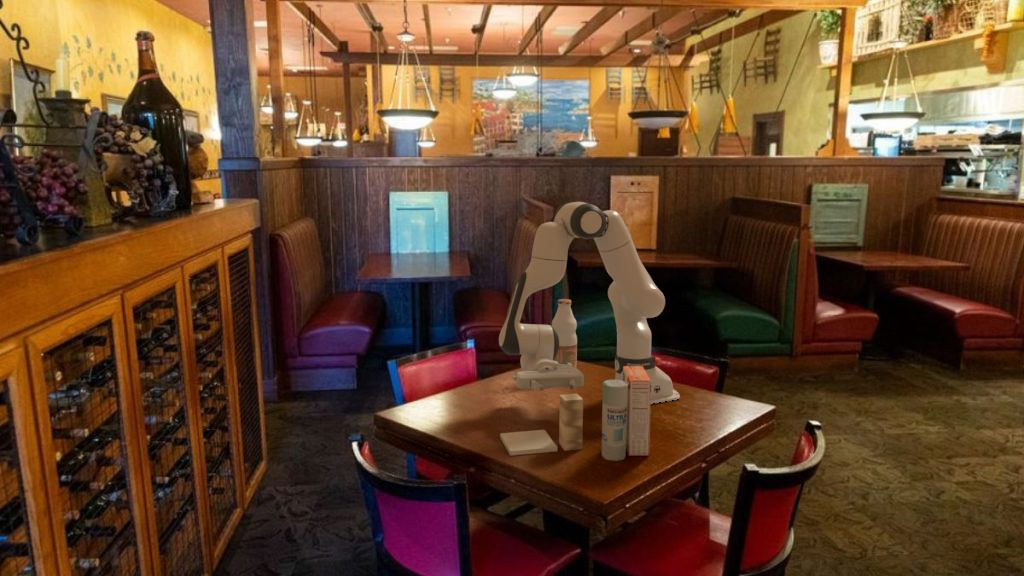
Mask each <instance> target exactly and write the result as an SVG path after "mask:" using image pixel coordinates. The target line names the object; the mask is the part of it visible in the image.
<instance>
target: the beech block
mask: <svg viewBox="0 0 1024 576" xmlns="http://www.w3.org/2000/svg"><path fill="white" fill-rule="evenodd" d="M583 416H584V399H583V398H582V397H581V396H580V395H579V393H568V394H559V424H558V426H559V427H558V429H559V430H558V432H559V433H558V443H559V446H560V447H561V448H562V449H563V451H565V452H566V451H574V450H575V451H576V450H577V451H578V450H583V433H584V432H583V431H584V430H583V425H584V424H583V422H584V421H583V420H584V417H583Z"/></svg>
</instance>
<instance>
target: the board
mask: <svg viewBox="0 0 1024 576" xmlns="http://www.w3.org/2000/svg"><path fill="white" fill-rule="evenodd" d="M499 438H500V441H501V442H502V444H503V445H504V447H505V449H506V450H507V451H506V452H508V454H509V456H520V455H529V454H542V453H551V452H558V445H557V444H556V443H555V441H553V439H552V438H551V437H550V435H549V434H548V432H547V431H546V430H545V429H538V430H535V429H534V430H527V431H526V430H525V431H512V432H502V433H499Z"/></svg>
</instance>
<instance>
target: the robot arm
mask: <svg viewBox="0 0 1024 576" xmlns="http://www.w3.org/2000/svg"><path fill="white" fill-rule="evenodd" d="M576 238H577V239H582V240H590V239H593V240H594V242H595V245H596V247H597V250H598V252H599V254H600V257H601V259H602V263H603V265H604V268H605V270H606V272H607V273H608V275H609V276H610V277H611V279H612V280H613V281H612V283H611V284H610V285H609V287H608V289H607V296H608V299H609V301H610V305H611V306H612V310H613V316H614V320H615V324H616V325H615V326H616V333H617V334H616V339H617V340H616V354H615V359H614V370H615V377H614V380H622V381H623V366H643V368H644V370H645V372H646V373H647V375H648V377H649V379H650V381H651V403H650V405H654V404H653V403H655V404H660V403H659V402H661V403H666V402H665V401H667V402H673V401H672V400H674V401H678V400H677V399H679V398H680V399H681V395H680V393H679V392H678V391H677V390H676V389H674V385H673V382H672V381H673V380H672V379H671V377H670V376H669V375H668V374H666V373H665V372H664V371H663V370H662V369H660V368H659V367H657V366H656V365H658V366H659V365H661V364H662V359H661V358H660V357H655V356H654V355H652V331H651V329H650V327H649V324H648V321H647V319H652V318H655V317H658V316H659V315H661V313H662V312H663V310H664V308H665V306H666V298H665V296H664V293H663V292H662V291H661V290H660V289H659V287H658V286H657V285H656V284H655V282H654V281H653V279H652V277H651V275H650V274H649V272H648V271H647V269H646V268H645V266H644V264H643V263H642V261H641V259H640V256H639V254H638V252H637V251H638V250H637V249H636V245H635V243H634V242H633V238H632V236H631V234H630V231H629V229H628V226H627V225H626V223H625V222H624V220H623V218H622V216H621V215H620V214H619V213H618V212H617V211H615V210H612V209H609V210H608V209H607V210H603V211H602V210H601V209H600V208H599V207H598V206H596V205H594V204H592V203H588V202H583V201H567V202H565V203H562V204H561V205H560V206H558V208H557V209H556V211H555V212H554V215H553V216H552V218H551V219H550V221H548V222H544V223H541V225H539V226H538V227H537V230H536V233H535V236H534V241H533V245H532V251H531V258H530V262H529V265H528V266H527V268H526V270H525V271H523V272H521V273H520V274H519V275H518V277H517V279H516V282H515V285H514V288H513V291H512V295H511V298H510V301H509V305H508V308H507V312H506V316H505V319H504V322H503V325H502V327H501V330H500V333H499V336H498V344H499V348H500V349H501V351H503V352H504V353H505V354H506V355H508V356H519V355H521V356H520V360H519V361H520V367H521V371H517V372H516V373H515V374H512V376H511V379H513V381H515V385H516V388H517V389H519V390H537V392H543V391H544V390H547V389H560V388H567V389H568V390H575V389H576V388H582V387H583V386H584V383H585V375H584V373H583V372H582V371H581V370H580V369H578V368H574V367H572V364H571V363H566V362H557V361H554V359H555V358H556V356H557V354H558V350H559V337H558V334H557V332H556V331H555V329H554V328H553V327H552V324H539V323H536V324H535V323H533V324H532V323H531V324H530V323H521V319H522V315H523V311H524V308H525V305H526V302H527V300H528V297H530V296H531V295H532V294H534V293H536V292H539V291H540V290H541V291H542V290H545V289H547V288H551V287H553V286H555V285H557V284H558V283H559V282H560V281H561V280H562V279H563V278H564V276H565V274H566V269H567V264H568V263H567V262H568V251H569V247H570V245H571V243H572V241H574V239H576ZM680 399H679V400H680Z"/></svg>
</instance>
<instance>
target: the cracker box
mask: <svg viewBox="0 0 1024 576" xmlns="http://www.w3.org/2000/svg"><path fill="white" fill-rule="evenodd" d="M623 381H625V382H627V383H628V400H627V428H626V452H627V457H628V456H629V457H639V456H640V457H649V456H650V440H651V438H650V436H651V404H650V403H651V381H650V379H649V377H648V375H647V373H646V372H645V370H644V368H643V366H623Z"/></svg>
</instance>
